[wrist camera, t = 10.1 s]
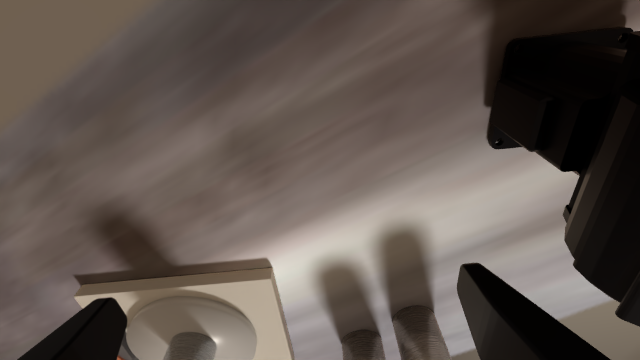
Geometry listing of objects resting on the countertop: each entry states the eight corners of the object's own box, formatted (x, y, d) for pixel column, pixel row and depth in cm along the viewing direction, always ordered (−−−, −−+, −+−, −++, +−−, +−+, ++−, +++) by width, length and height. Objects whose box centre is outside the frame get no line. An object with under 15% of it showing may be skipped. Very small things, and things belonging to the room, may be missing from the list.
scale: (272, 267, 26) (269, 291, 24) (294, 356, 33) (293, 380, 31) (82, 284, 26) (63, 309, 24) (142, 369, 33) (132, 393, 31)
